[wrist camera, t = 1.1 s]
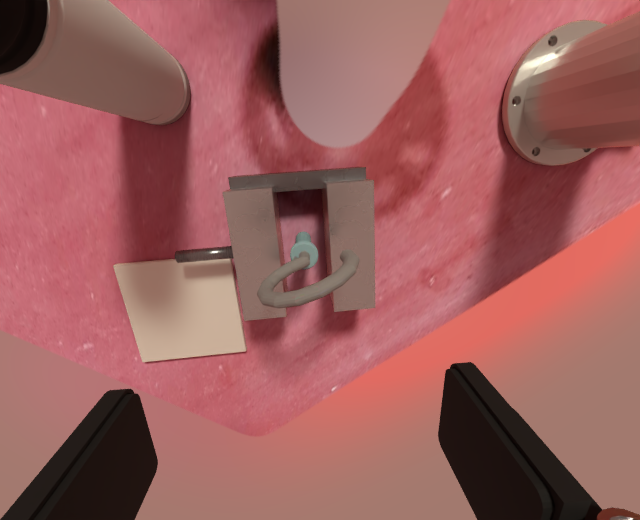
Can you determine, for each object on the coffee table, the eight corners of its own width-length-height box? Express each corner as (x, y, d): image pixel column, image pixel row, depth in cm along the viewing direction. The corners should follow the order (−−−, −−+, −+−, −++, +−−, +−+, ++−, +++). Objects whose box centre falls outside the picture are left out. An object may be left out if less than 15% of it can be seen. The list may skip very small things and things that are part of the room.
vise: (359, 166, 30) (373, 167, 25) (362, 283, 35) (375, 307, 29) (173, 180, 30) (144, 185, 24) (199, 299, 34) (179, 327, 28)
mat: (230, 253, 32) (229, 255, 32) (246, 348, 36) (245, 351, 35) (116, 263, 32) (113, 265, 31) (145, 359, 35) (142, 362, 35)
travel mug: (165, 143, 28) (-96, 104, 9) (103, 85, 27) (-372, -107, 8) (208, 93, 27) (16, -60, 8) (148, 29, 26) (-270, -349, 7)
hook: (333, 214, 32) (364, 256, 18) (341, 236, 33) (376, 293, 18) (265, 240, 32) (241, 302, 18) (274, 261, 33) (258, 336, 19)
